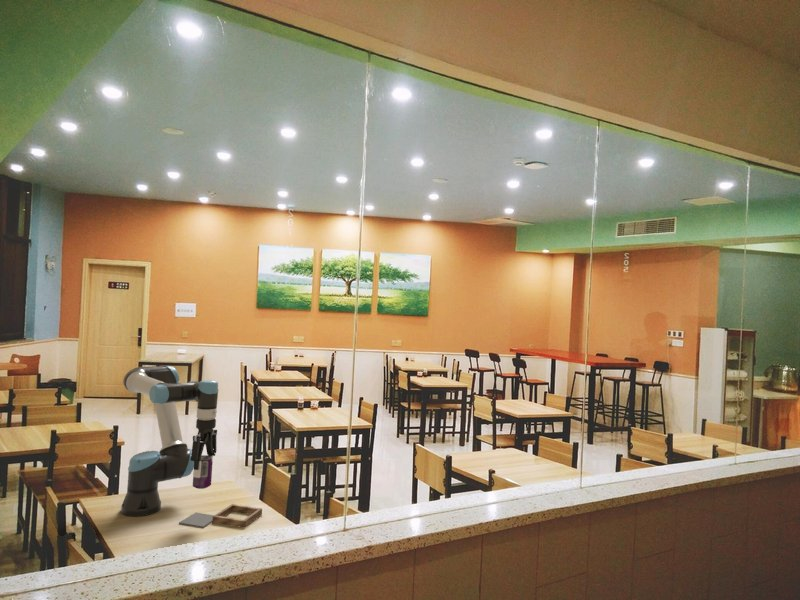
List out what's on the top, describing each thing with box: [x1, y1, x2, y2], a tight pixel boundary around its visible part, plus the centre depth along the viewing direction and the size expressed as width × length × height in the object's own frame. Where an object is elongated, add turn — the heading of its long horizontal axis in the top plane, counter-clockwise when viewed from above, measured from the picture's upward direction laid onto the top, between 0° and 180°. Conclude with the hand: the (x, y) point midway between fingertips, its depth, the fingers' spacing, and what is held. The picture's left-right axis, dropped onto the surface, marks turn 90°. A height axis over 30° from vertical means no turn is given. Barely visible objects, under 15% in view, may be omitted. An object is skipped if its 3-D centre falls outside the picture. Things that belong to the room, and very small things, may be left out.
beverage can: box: [192, 454, 214, 490], centre depth 210 cm, size 7×7×12 cm
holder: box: [211, 503, 263, 528], centre depth 213 cm, size 14×14×2 cm
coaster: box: [178, 512, 215, 529], centre depth 209 cm, size 11×11×1 cm
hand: (202, 474), depth 210 cm, fingers closed on beverage can, 7 cm apart
